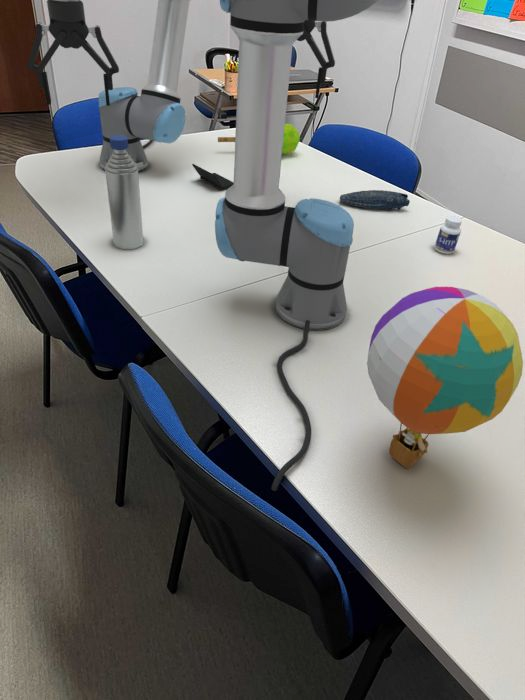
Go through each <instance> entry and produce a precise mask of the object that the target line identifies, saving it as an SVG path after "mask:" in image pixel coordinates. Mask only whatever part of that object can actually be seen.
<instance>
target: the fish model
mask: <svg viewBox="0 0 525 700" xmlns="http://www.w3.org/2000/svg"><path fill="white" fill-rule="evenodd" d="M410 202H411V201H410V200H409V195H408V194H406V193H403V192H402V193H401V192H399V191H392V190H382V189H380V190H379V189H377V190H376V189H368V190H360V191H352V192H348V193H344V194H341V195H340V196H339V203H343V204H346V205H349V206H351V207H357V208H362V209H371V210H372V209H374V210H384V211H385V210H386V211H391V210H394V209H397V210H402V208H404V207H408V206H409V205H410Z"/></svg>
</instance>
